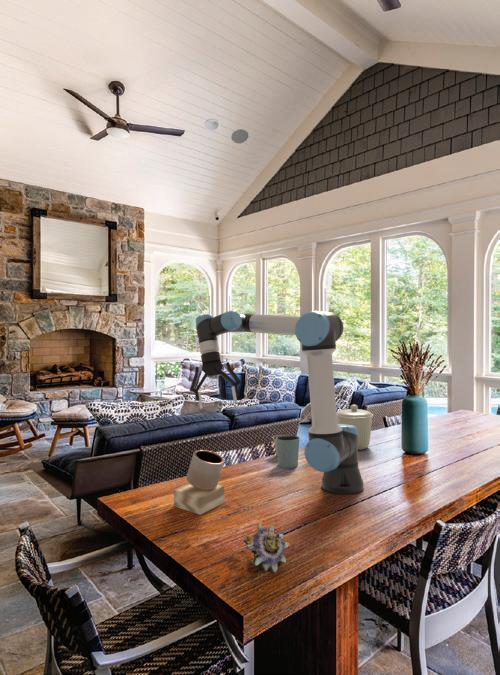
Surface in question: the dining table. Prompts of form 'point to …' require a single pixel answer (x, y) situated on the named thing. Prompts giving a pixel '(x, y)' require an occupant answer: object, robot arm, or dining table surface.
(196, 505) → the maple block
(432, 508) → the dining table surface
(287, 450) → the green cup
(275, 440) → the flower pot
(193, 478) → the planter
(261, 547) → the passion flower
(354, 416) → the canister
